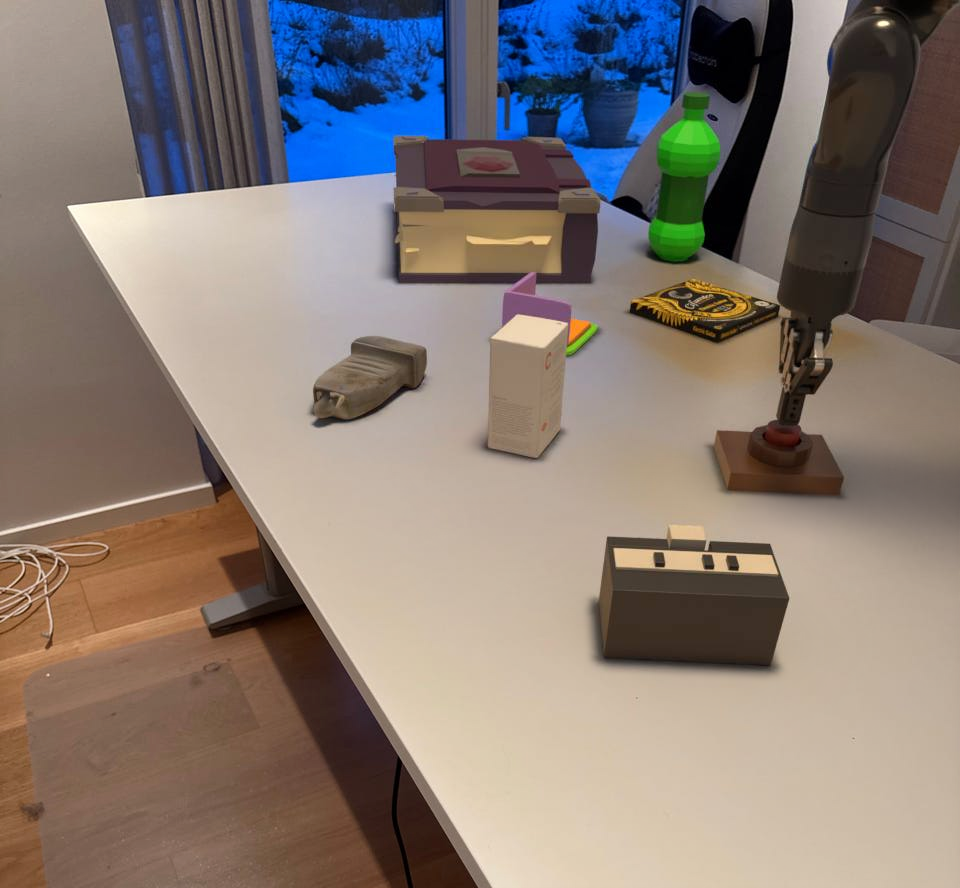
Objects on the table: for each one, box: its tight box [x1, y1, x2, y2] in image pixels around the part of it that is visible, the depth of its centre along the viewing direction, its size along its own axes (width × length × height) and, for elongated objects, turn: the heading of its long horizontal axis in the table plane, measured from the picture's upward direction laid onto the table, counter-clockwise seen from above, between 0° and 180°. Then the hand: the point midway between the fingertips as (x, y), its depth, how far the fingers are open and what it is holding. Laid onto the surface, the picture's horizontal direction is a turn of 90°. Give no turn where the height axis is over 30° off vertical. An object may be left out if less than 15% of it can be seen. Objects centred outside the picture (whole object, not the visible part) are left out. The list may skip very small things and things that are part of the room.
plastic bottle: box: [648, 91, 722, 263], centre depth 159 cm, size 10×10×25 cm
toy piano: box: [598, 535, 790, 666], centre depth 81 cm, size 14×8×8 cm, turn 87°
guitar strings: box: [629, 278, 781, 344], centre depth 144 cm, size 16×2×16 cm
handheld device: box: [312, 335, 428, 420], centre depth 118 cm, size 10×20×5 cm, turn 154°
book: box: [393, 135, 601, 284], centre depth 166 cm, size 33×45×14 cm
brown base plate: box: [713, 424, 845, 496], centre depth 105 cm, size 12×10×4 cm
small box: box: [487, 314, 568, 459], centre depth 107 cm, size 8×6×13 cm
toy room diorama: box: [501, 272, 599, 356], centre depth 135 cm, size 12×12×7 cm
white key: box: [665, 524, 707, 550], centre depth 83 cm, size 3×2×2 cm
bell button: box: [764, 419, 802, 447], centre depth 104 cm, size 4×4×2 cm
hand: (786, 422), depth 103 cm, fingers closed
